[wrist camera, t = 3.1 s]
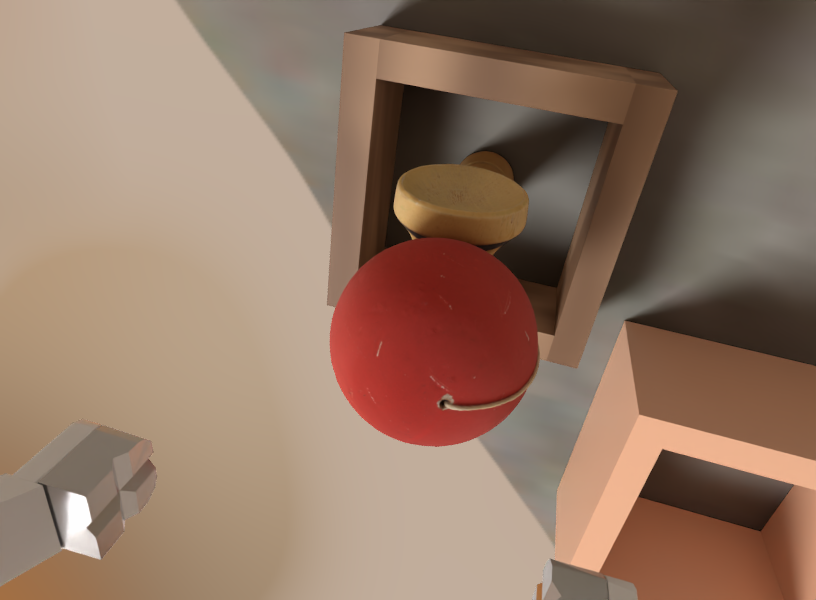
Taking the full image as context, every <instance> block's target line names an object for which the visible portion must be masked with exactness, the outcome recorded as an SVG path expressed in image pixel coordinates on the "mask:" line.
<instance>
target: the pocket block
mask: <svg viewBox="0 0 816 600" xmlns="http://www.w3.org/2000/svg"><path fill="white" fill-rule="evenodd" d="M404 84H408V85H413V86H419V87H424V88H429V89H435V90H440V91H445V92H451V93H456V94H461V95H467V96H472V97H477V98H483V99H488V100H494V101H499V102H504V103H510V104H515V105H520V106H526V107H531V108H536V109H542V110H547V111H552V112H558V113H563V114H569V115H574V116H579V117H585V118H590V119H595V120H601V121H606V122H608V125H607V129H606V132H605V135H604V138H603V141H602V145H601V148H600V151H599V154H598V158H597V161H596V164H595V167H594V170H593V174H592V177H591V180H590V183H589V187H588V190H587V193H586V196H585V199H584V203H583V206H582V209H581V212H580V216H579V219H578V222H577V225H576V228H575V232H574V235H573V238H572V241H571V245H570V248H569V251H568V254H567V257H566V261H565V264H564V267H563V270H562V274H561V277H560V280H559V283H558V286H557V288H555V287H551V286H547V285H542V284H538V283H534V282H529V281H525V280H521V279H518V281H519V282H520V284H521V285H522V287H523V288H524V290H525V292H526V294H527V296H528V298H529V300H530V303H531V305H532V308H533V309H534V314H535V319H536V324H537V331H538V344H539V350H540V359H542V360H546V361H550V362H553V363H557V364H561V365H565V366H569V367H573V368H577V367H578V365H579V362H580V359H581V356H582V354H583V351H584V348H585V345H586V343H587V340H588V337H589V334H590V332H591V329H592V326H593V323H594V321H595V318H596V315H597V312H598V310H599V307H600V304H601V301H602V299H603V296H604V293H605V290H606V288H607V285H608V282H609V279H610V277H611V274H612V271H613V268H614V266H615V263H616V260H617V257H618V255H619V252H620V249H621V246H622V244H623V241H624V238H625V235H626V233H627V230H628V227H629V224H630V222H631V219H632V216H633V213H634V211H635V208H636V205H637V202H638V200H639V197H640V194H641V191H642V189H643V186H644V183H645V180H646V178H647V175H648V172H649V169H650V167H651V164H652V161H653V158H654V156H655V153H656V150H657V147H658V145H659V142H660V139H661V136H662V134H663V131H664V128H665V125H666V123H667V120H668V117H669V114H670V112H671V109H672V106H673V103H674V101H675V98H676V95H677V92H678V91H677V90H676V89H675V88H674V87H673V86H672V85H671V84H670V83H669V82H668V81H667V80H666V79H665V78H664V77H663V76H662V75H661V74H660V73H657V72H651V71H645V70H639V69H633V68H628V67H622V66H616V65H610V64H604V63H598V62H592V61H587V60H581V59H575V58H569V57H563V56H557V55H552V54H546V53H540V52H534V51H528V50H522V49H517V48H511V47H505V46H499V45H493V44H487V43H482V42H476V41H470V40H464V39H458V38H452V37H447V36H441V35H435V34H429V33H423V32H417V31H412V30H406V29H400V28H394V27H388V26H382V25H379V26H374V27H369V28H365V29H360V30H355V31H350V32H345V33H344V45H343V61H342V77H341V92H340V108H339V124H338V139H337V155H336V171H335V187H334V202H333V218H332V235H331V251H330V265H329V281H328V298H327V305H329V306H333V307H336V305H337V303H338V301H339V298H340V296H341V294H342V292H343V290H344V289H345V287H346V286H347V284H348V282H349V281H350V279H351V278H352V277H353V276H354V275H355V273H356V272H357V271H358V270H359V269H360V268H361V267H362V266H363V265H364V264H365V263H366V262H368V261H369V260H370V259H371V258H373V257H374V256H375V255H377V254H379V253H380V252H382V251H384V250H386V249H388V248H385V241H386V232H387V224H388V216H389V207H390V199H391V190H392V182H393V174H394V165H395V157H396V149H397V140H398V132H399V123H400V115H401V107H402V98H403V90H404Z"/></svg>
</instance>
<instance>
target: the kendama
mask: <svg viewBox="0 0 816 600" xmlns="http://www.w3.org/2000/svg"><path fill="white" fill-rule="evenodd" d="M528 205H529V198H528V195H527V193H526V191H525V190H524V189H523V188H522V187H521V186H520V185H518V184H517V183H516V182H514V177H513V172H512V169H511V167H510V165H509V163H508V162H507V161H506V160H505V159H504V158H503V157H501V156H500V155H498V154H496V153H493V152H489V151H480V152H477V153H473V154H471V155H469V156H468V157H466V158H465V159H464V160H463V161H462V162H461V164H460V165H455V164H436V165H426V166H420V167H417V168H414V169H411V170H409V171H407V172H406V173H404V174H403V175H402V176H401V177H400V179H399V181H398V184H397V188H396V193H395V199H394V211H395V214H396V216H397V218H398V220H399V222H401V223H402V224H403V225H404V227H405V228H406V229H407V230H408V232H409V233H410V235H411V237H412V240H408V241H406V242H403V243H400V244H397V245H394V246H392V247H390V248H388V249H386V250H384V251H382V252H380V253H379V254H377V255H375V256H374V257H373V258H371V259H370V260H369V261H368V262H366V263H365V264H364V265H363V266H362V267H361V268H360V269H359V270H358V271H357V272H356V273H355V275H354V276H353V277H352V278H351V279H350V281H349V282H348V284H347V286H346V287H345V289H344V290H343V292H342V294H341V296H340V298H339V301H338V303H337V305H336V308H335V311H334V314H333V318H332V323H331V331H330V353H331V361H332V365H333V369H334V372H335V375H336V379H337V381H338V384H339V386H340V388H341V390H342V392H343V393H344V395H345V397H346V398H347V400H348V401H349V403H350V404H351V406H352V407H353V408H354V409H355V410H356V412H357V413H358V414H359V415H360V416H361V417H362V418H363V419H364V420H365V421H367V422H368V423H369V424H370V425H372V426H373V427H374V428H375V429H377V430H378V431H380V432H382V433H384V434H386V435H388V436H390V437H392V438H395V439H397V440H400V441H402V442H406V443H410V444H416V445H422V446H435V447H437V446H438V447H439V446H447V445H454V444H459V443H463V442H466V441H469V440H471V439H474V438H476V437H478V436H480V435H483V434H485V433H486V432H488V431H490V430H491V429H493V428H494V427H495V426H497V425H498V424H499V423H501V422H502V421H503V420H504V419H505V418H506V417H507V416H508V415H509V414H510V413H511V412H512V411H513V410H514V408H515V407H516V406H517V405H518V403H519V402H520V400H521V399H522V397H523V396H524V394H525V392H526V390H527V388H528V387H529V386H530V384H531V383H532V381H533V380H534V378H535V376H536V374H537V371H538V367H539V361H540V350H539V344H538V331H537V324H536V319H535V314H534V309H533V308H532V305H531V303H530V300H529V298H528V296H527V294H526V292H525V290H524V288H523V287H522V285H521V284H520V282H519V281H518V279H517V278H516V277H515V276H514V274H513V273H512V272H511V271H510V270H509V269H508V268H507V267H506V266H505V265H504V264H503V263H502V262H501V261H499V260H498V259H497V258H495V257H494V256H493V255H494V253H495V252H496V251H497V250H498V249H499V248H500V247H501V246H502V245H504V244H505V243H507V242H509V241H510V240H511V239H513V238H515V237H516V236H518V235H519V234H520V233H521V232H522V230H523V229H524V227H525V224H526V219H527V212H528Z"/></svg>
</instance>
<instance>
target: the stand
mask: <svg viewBox="0 0 816 600" xmlns="http://www.w3.org/2000/svg"><path fill="white" fill-rule="evenodd" d="M662 449H664V450H668V451H672V452H676V453H679V454H683V455H687V456H690V457H694V458H698V459H702V460H705V461H709V462H713V463H716V464H720V465H724V466H728V467H731V468H735V469H739V470H742V471H746V472H750V473H753V474H757V475H761V476H765V477H768V478H772V479H776V480H779V481H783V482H787V483H791V484H794V486H793V487H792V489H791V490H790V491H789V493H788V494H787V496H786V497H785V498H784V500H783V501H782V502H781V504H780V505H779V507H778V508H777V509H776V511H775V512H774V514H773V515H772V516H771V518H770V519H769V521H768V522H767V523H766V525H765V526H764V527H763V529H762V530H761V532H760V531H757V530H753V529H750V528H746V527H743V526H739V525H736V524H732V523H729V522H725V521H722V520H718V519H715V518H711V517H708V516H704V515H701V514H697V513H693V512H690V511H686V510H683V509H679V508H676V507H672V506H669V505H665V504H662V503H658V502H655V501H651V500H648V499H644V498H641V497H638V495H639V493H640V491H641V489H642V488H643V486H644V484H645V482H646V480H647V478H648V476H649V474H650V472H651V470H652V468H653V466H654V464H655V462H656V460H657V458H658V456H659V454H660V452H661V450H662ZM555 560H556V561H560V562H564V563H567V564H571V565H574V566H578V567H581V568H585V569H588V570H592V571H595V572H599V573H602V574H603V575H606V576H610V577H613V578H617V579H620V580H624V581H627V582H631V583H633V584H634V586H635V588H636V590H637V597H638V600H816V366H814V365H810V364H805V363H801V362H797V361H793V360H789V359H784V358H780V357H776V356H772V355H768V354H763V353H759V352H755V351H751V350H747V349H742V348H738V347H734V346H730V345H726V344H721V343H717V342H713V341H709V340H705V339H700V338H696V337H692V336H688V335H684V334H679V333H675V332H671V331H667V330H663V329H658V328H654V327H650V326H646V325H642V324H637V323H633V322H629V321H624V323H623V326H622V328H621V331H620V333H619V336H618V339H617V341H616V344H615V346H614V349H613V351H612V354H611V356H610V359H609V361H608V364H607V366H606V369H605V371H604V374H603V376H602V379H601V381H600V384H599V386H598V389H597V391H596V394H595V396H594V399H593V401H592V404H591V406H590V409H589V411H588V414H587V417H586V419H585V422H584V424H583V427H582V429H581V432H580V434H579V437H578V439H577V442H576V444H575V447H574V449H573V452H572V454H571V457H570V459H569V462H568V464H567V467H566V469H565V472H564V474H563V477H562V479H561V482H560V484H559V487H558V490H557V509H556V541H555Z"/></svg>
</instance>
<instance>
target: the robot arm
mask: <svg viewBox="0 0 816 600" xmlns="http://www.w3.org/2000/svg"><path fill="white" fill-rule="evenodd" d="M152 453H153V447H152V443H151V441H150V440H147V439H144V438H141V437H138V436H135V435H132V434H129V433H125V432H122V431H119V430H116V429H113V428H110V427H107V426H104V425H101V424H98V423H94V422H91V421H88V420H84V419H81V420H78V421H76V422H73V423H72V424H71V425H70V426H68V427H67V428H66V429H65V430H64V431H63V432H61V433H60V434H59V435H58V436H57V437H56V438H55V439H53V440H52V441H51V442H50V443H49V444H48V445H46V446H45V447H44V448H43V449H42V450H41V451H40V452H38V453H37V454H36V455H35V456H34V457H33V458H32V459H30V460H29V461H28V462H27V463H26V464H25V465H24V466H22V467H21V468H20V469H19V470H18V471H17V472H16V473H14V474H13V475H9V474H3V475H0V586H2V585H3V584H5V583H7V582H9V581H10V580H12V579H14V578H16V577H17V576H19V575H20V574H22V573H24V572H26V571H28V570H29V569H31V568H33V567H34V566H36V565H38V564H40V563H41V562H43V561H45V560H46V559H48V558H50V557H52V556H53V555H55V554H57V553H59V552H60V551H61V550H62V549H61V548H64V549H67V550H71V551H74V552H77V553H81V554H84V555H87V556H90V557H94V558H97V559H102V558H103V557H104V555H105V554H106V553H107V552H108V551H109V550H110V548H111V547H112V546H113V545H114V543H115V542H116V541H117V540H118V539H119V537H120V536H121V535H122V534H123V532H124V528H125V527H124V525H125V520H126V519H128V518H130V517H132V516H134V515H136V514H138V513H140V511H141V510H142V509H143V508H144V506H145V505H146V504H147V503H148V501H149V499H150V497H151V495H152V493H153V490H154V488H155V485H156V479H157V474H156V468H155V466H154V465H153V464H152V463H151V461H150V460H149V459H148V458H149V457H150V456H151V455H152ZM532 600H638V597H637V590H636V588H635V586H634V584H633V583H631V582H627V581H624V580H620V579H617V578H613V577H610V576H606V575H603V574H602V573H599V572H595V571H592V570H588V569H585V568H581V567H578V566H574V565H571V564H567V563H564V562H560V561H556V560H553V559H549V560H548V561H547V563H546V565H545V567H544V570H543V582H542V583H540V584H538V585H537V586H536V589H535V591H534V594H533V597H532Z"/></svg>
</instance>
